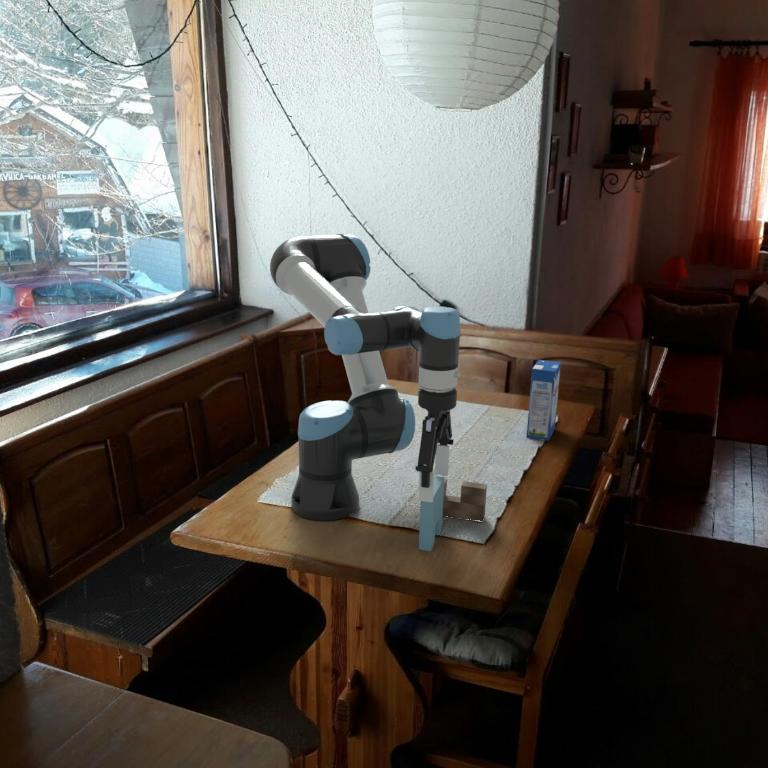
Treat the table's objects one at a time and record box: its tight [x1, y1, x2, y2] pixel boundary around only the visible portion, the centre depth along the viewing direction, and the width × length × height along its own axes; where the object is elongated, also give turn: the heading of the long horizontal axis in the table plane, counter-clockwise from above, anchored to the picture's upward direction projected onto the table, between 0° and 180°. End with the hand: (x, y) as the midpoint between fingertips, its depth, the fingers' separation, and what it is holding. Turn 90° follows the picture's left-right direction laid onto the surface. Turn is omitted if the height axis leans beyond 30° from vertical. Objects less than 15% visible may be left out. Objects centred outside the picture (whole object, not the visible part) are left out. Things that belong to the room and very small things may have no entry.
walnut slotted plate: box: [419, 477, 488, 522], centre depth 176 cm, size 14×2×8 cm, turn 73°
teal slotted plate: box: [418, 475, 446, 552], centre depth 165 cm, size 10×2×12 cm, turn 163°
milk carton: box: [526, 359, 562, 442], centre depth 223 cm, size 10×6×20 cm, turn 159°
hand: (434, 487), depth 162 cm, fingers open, 13 cm apart
